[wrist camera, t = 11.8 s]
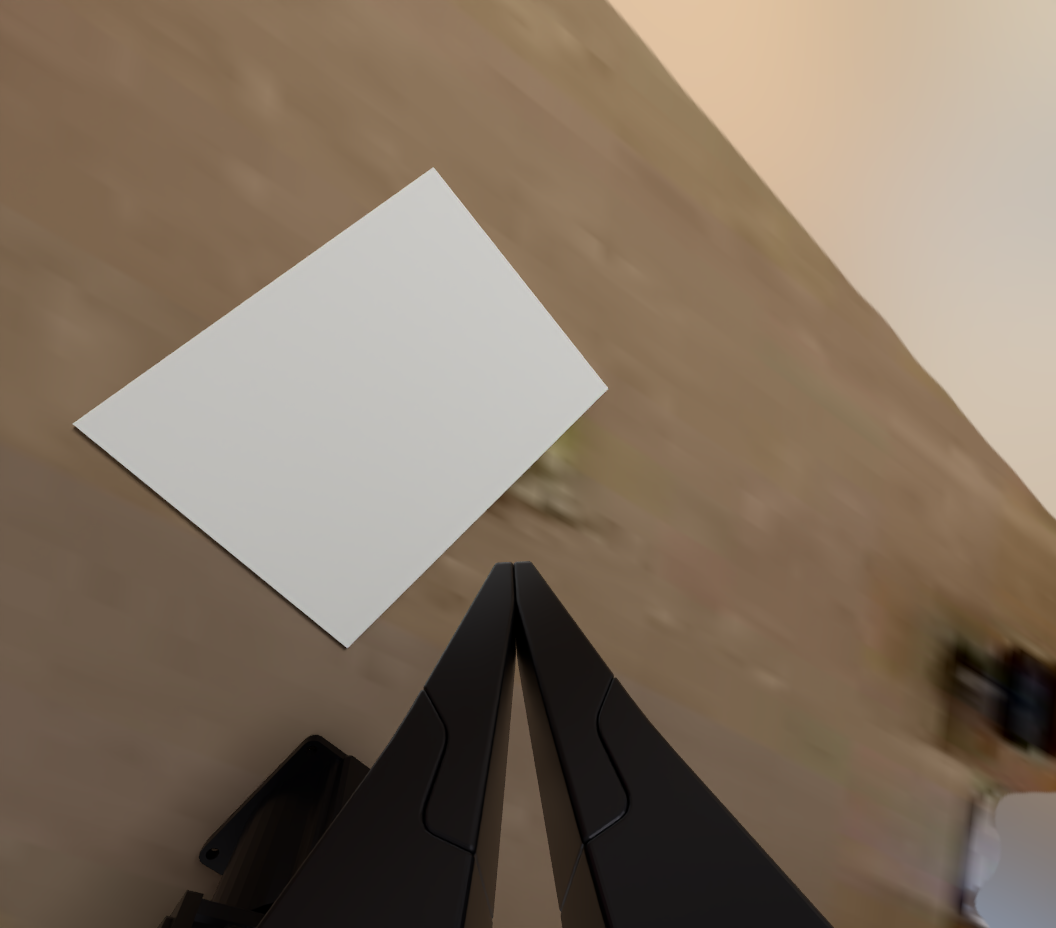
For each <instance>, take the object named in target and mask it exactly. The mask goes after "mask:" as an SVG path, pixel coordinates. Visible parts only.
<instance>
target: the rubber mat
mask: <svg viewBox="0 0 1056 928" xmlns="http://www.w3.org/2000/svg"><path fill="white" fill-rule="evenodd" d="M607 390H608V388H607V386H606V385H605V384H604V382H603V381H602V380H601V379H600V377H599V376H598V375H597V374H596V372H595V371H594V370H593V369H592V367H591V366H590V365H589V363H588V362H587V361H586V360H585V358H584V357H583V356H582V355H581V353H580V352H579V351H578V350H577V348H576V347H575V346H574V345H573V343H572V342H571V341H570V339H569V338H568V337H567V336H566V334H565V333H564V332H563V331H562V329H561V328H560V327H559V326H558V324H557V323H556V322H555V320H554V319H553V318H552V317H551V315H550V314H549V313H548V312H547V310H546V309H545V308H544V307H543V305H542V304H541V303H540V301H539V300H538V299H537V298H536V296H535V295H534V294H533V293H532V291H531V290H530V289H529V288H528V286H527V285H526V284H525V282H524V281H523V280H522V279H521V277H520V276H519V275H518V274H517V272H516V271H515V270H514V269H513V267H512V266H511V265H510V263H509V262H508V261H507V260H506V258H505V257H504V256H503V255H502V253H501V252H500V251H499V250H498V248H497V247H496V246H495V244H494V243H493V242H492V241H491V239H490V238H489V237H488V236H487V234H486V233H485V232H484V231H483V229H482V228H481V227H480V226H479V224H478V223H477V222H476V220H475V219H474V218H473V217H472V215H471V214H470V213H469V212H468V210H467V209H466V208H465V207H464V205H463V204H462V203H461V201H460V200H459V199H458V198H457V196H456V195H455V194H454V193H453V191H452V190H451V189H450V188H449V186H448V185H447V184H446V182H445V181H444V180H443V179H442V177H441V176H440V175H439V174H438V172H437V171H436V170H435V169H434V167H433V168H432V169H430V170H429V171H427V172H426V173H425V174H423V175H422V176H420V177H419V178H418V179H416V180H415V181H413V182H412V183H411V184H409V185H408V186H406V187H405V188H404V189H402V190H401V191H399V192H398V193H397V194H395V195H394V196H392V197H391V198H390V199H388V200H387V201H385V202H384V203H382V204H381V205H380V206H378V207H377V208H375V209H374V210H373V211H371V212H370V213H368V214H367V215H366V216H364V217H363V218H361V219H360V220H359V221H357V222H356V223H354V224H353V225H352V226H350V227H349V228H347V229H346V230H345V231H343V232H342V233H340V234H339V235H337V236H336V237H335V238H333V239H332V240H330V241H329V242H328V243H326V244H325V245H323V246H322V247H321V248H319V249H318V250H316V251H315V252H314V253H312V254H311V255H309V256H308V257H307V258H305V259H304V260H302V261H301V262H299V263H298V264H297V265H295V266H294V267H292V268H291V269H290V270H288V271H287V272H285V273H284V274H283V275H281V276H280V277H278V278H277V279H276V280H274V281H273V282H271V283H270V284H269V285H267V286H266V287H264V288H263V289H262V290H260V291H259V292H257V293H256V294H254V295H253V296H252V297H250V298H249V299H247V300H246V301H245V302H243V303H242V304H240V305H239V306H238V307H236V308H235V309H233V310H232V311H231V312H229V313H228V314H226V315H225V316H224V317H222V318H221V319H219V320H218V321H217V322H215V323H214V324H212V325H211V326H209V327H208V328H207V329H205V330H204V331H202V332H201V333H200V334H198V335H197V336H195V337H194V338H193V339H191V340H190V341H188V342H187V343H186V344H184V345H183V346H181V347H180V348H179V349H177V350H176V351H174V352H173V353H172V354H170V355H169V356H167V357H166V358H164V359H163V360H162V361H160V362H159V363H157V364H156V365H155V366H153V367H152V368H150V369H149V370H148V371H146V372H145V373H143V374H142V375H141V376H139V377H138V378H136V379H135V380H134V381H132V382H131V383H129V384H128V385H126V386H125V387H124V388H122V389H121V390H119V391H118V392H117V393H115V394H114V395H112V396H111V397H110V398H108V399H107V400H105V401H104V402H103V403H101V404H100V405H98V406H97V407H96V408H94V409H93V410H91V411H90V412H89V413H87V414H86V415H84V416H83V417H81V418H80V419H79V420H77V421H76V422H74V423H73V425H74V426H76V427H77V428H78V429H79V430H81V431H82V432H83V433H84V434H85V435H87V436H88V437H89V438H90V439H92V440H93V441H94V442H95V443H97V444H98V445H99V446H100V447H101V448H103V449H104V450H105V451H106V452H108V453H109V454H110V455H111V456H112V457H114V458H115V459H116V460H117V461H119V462H120V463H121V464H122V465H123V466H125V467H126V468H127V469H128V470H130V471H131V472H132V473H133V474H134V475H136V476H137V477H138V478H139V479H141V480H142V481H143V482H144V483H145V484H147V485H148V486H149V487H150V488H152V489H153V490H154V491H155V492H157V493H158V494H159V495H160V496H161V497H163V498H164V499H165V500H166V501H168V502H169V503H170V504H171V505H172V506H174V507H175V508H176V509H177V510H179V511H180V512H181V513H182V514H183V515H185V516H186V517H187V518H188V519H190V520H191V521H192V522H193V523H194V524H196V525H197V526H198V527H199V528H201V529H202V530H203V531H204V532H206V533H207V534H208V535H209V536H210V537H212V538H213V539H214V540H215V541H217V542H218V543H219V544H220V545H221V546H223V547H224V548H225V549H226V550H228V551H229V552H230V553H231V554H232V555H234V556H235V557H236V558H237V559H239V560H240V561H241V562H242V563H243V564H245V565H246V566H247V567H248V568H250V569H251V570H252V571H253V572H255V573H256V574H257V575H258V576H259V577H261V578H262V579H263V580H264V581H266V582H267V583H268V584H269V585H270V586H272V587H273V588H274V589H275V590H277V591H278V592H279V593H280V594H281V595H283V596H284V597H285V598H286V599H288V600H289V601H290V602H291V603H292V604H294V605H295V606H296V607H297V608H299V609H300V610H301V611H302V612H303V613H305V614H306V615H307V616H308V617H310V618H311V619H312V620H313V621H315V622H316V623H317V624H318V625H319V626H321V627H322V628H323V629H324V630H326V631H327V632H328V633H329V634H330V635H332V636H333V637H334V638H335V639H337V640H338V641H339V642H340V643H341V644H343V645H344V646H345V647H346V648H348V647H349V646H350V645H351V644H352V643H353V642H354V641H355V640H356V639H357V638H358V637H359V636H360V635H361V634H362V633H363V632H364V631H365V630H366V629H367V628H368V627H369V626H370V625H371V624H372V623H373V622H374V621H375V620H376V619H377V618H378V617H379V616H380V615H381V614H382V613H383V612H384V611H385V610H386V609H387V608H388V607H389V606H390V605H391V604H392V603H393V602H394V601H395V600H396V599H397V598H398V597H399V596H400V595H401V594H402V593H403V592H404V591H405V590H407V589H408V588H409V587H410V586H411V585H412V584H413V583H414V582H415V581H416V580H417V579H418V578H419V577H420V576H421V575H422V574H423V573H424V572H425V571H426V570H427V569H428V568H429V567H430V566H431V565H432V564H433V563H434V562H435V561H436V560H437V559H438V558H439V557H440V556H441V555H442V554H443V553H444V552H445V551H446V550H447V549H448V548H449V547H450V546H451V545H452V544H453V543H454V542H455V541H456V540H457V539H458V538H459V537H460V536H461V535H462V534H463V533H464V532H465V531H466V530H467V529H468V528H469V527H470V526H471V525H472V524H473V523H474V522H475V521H476V520H477V519H478V518H479V517H480V516H481V515H482V514H483V513H484V512H485V511H486V510H487V509H488V508H489V507H490V506H491V505H492V504H493V503H494V502H495V501H496V500H497V499H498V498H499V497H500V496H501V495H502V494H503V493H504V492H505V491H506V490H507V489H508V488H509V487H510V486H511V485H512V484H513V483H514V482H515V481H516V480H517V479H518V478H519V477H520V476H521V475H522V474H523V473H524V472H525V471H526V470H527V469H528V468H529V467H530V466H531V465H532V464H533V463H534V462H535V461H536V460H537V459H538V458H539V457H540V456H541V455H542V454H543V453H544V452H545V451H546V450H547V449H548V448H549V447H550V446H551V445H552V444H553V443H554V442H555V441H556V440H557V439H558V438H559V437H560V436H561V435H562V434H563V433H564V432H565V431H566V430H567V429H568V428H569V427H570V426H571V425H572V424H573V423H574V422H575V421H576V420H577V419H578V418H579V417H580V416H581V415H582V414H583V413H584V412H585V411H586V410H587V409H588V408H589V407H590V406H591V405H592V404H593V403H594V402H595V401H596V400H597V399H599V398H600V397H601V396H602V395H603V394H604V393H605V392H606V391H607Z"/></svg>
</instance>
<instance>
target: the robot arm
mask: <svg viewBox="0 0 1056 928" xmlns="http://www.w3.org/2000/svg"><path fill="white" fill-rule="evenodd" d="M516 650H517V659H518V666H519V672H520V678H521V684H522V690H523V696H524V702H525V708H526V714H527V719H528V725H529V731H530V737H531V743H532V749H533V755H534V761H535V767H536V773H537V779H538V785H539V791H540V797H541V803H542V808H543V814H544V820H545V826H546V832H547V838H548V844H549V850H550V856H551V862H552V868H553V874H554V880H555V886H556V892H557V897H558V903H559V909H560V911H561V921H562V927H563V928H834V927H833V926H832V925H831V924H830V923H829V922H828V921H827V919H826V918H825V917H824V916H823V915H822V914H821V913H820V912H819V911H818V909H817V908H816V907H815V906H814V905H813V904H812V903H811V902H810V901H809V899H808V898H807V897H806V896H805V895H804V894H803V893H802V892H801V891H800V889H799V888H798V887H797V886H796V885H795V884H794V883H793V882H792V881H791V879H790V878H789V877H788V876H787V875H786V874H785V873H784V872H783V870H782V869H781V868H780V867H779V866H778V865H777V864H776V863H775V862H774V860H773V859H772V858H771V857H770V856H769V855H768V854H767V853H766V852H765V850H764V849H763V848H762V847H761V846H760V845H759V844H758V843H757V842H756V840H755V839H754V838H753V837H752V836H751V835H750V834H749V833H748V832H747V830H746V829H745V828H744V827H743V826H742V825H741V824H740V823H739V822H738V820H737V819H736V818H735V817H734V816H733V815H732V814H731V813H730V812H729V810H728V809H727V808H726V807H725V806H724V805H723V804H722V803H721V802H720V800H719V799H718V798H717V797H716V796H715V795H714V794H713V793H712V791H711V790H710V789H709V788H708V787H707V786H706V785H705V784H704V783H703V781H702V780H701V779H700V778H699V777H698V776H697V775H696V774H695V773H694V771H693V770H692V769H691V768H690V767H689V766H688V765H687V764H686V763H685V761H684V760H683V759H682V758H681V757H680V756H679V755H678V754H677V753H676V751H675V750H674V749H673V748H672V747H671V746H670V744H669V743H668V742H667V741H666V740H665V739H664V738H663V736H662V735H661V734H660V733H659V732H658V731H657V729H656V728H655V727H654V726H653V725H652V724H651V722H650V721H649V720H648V719H647V717H646V716H645V715H644V714H643V712H642V711H641V710H640V708H639V707H638V706H637V705H636V703H635V702H634V701H633V699H632V698H631V697H630V696H629V694H628V693H627V691H626V690H625V689H624V687H623V686H622V685H621V683H620V682H619V680H618V679H617V678H614V675H613V673H612V672H611V670H610V669H609V668H608V666H607V665H606V663H605V662H604V661H603V659H602V658H601V657H600V655H599V654H598V653H597V651H596V650H595V648H594V647H593V646H592V644H591V643H590V642H589V640H588V639H587V637H586V636H585V635H584V633H583V632H582V631H581V629H580V628H579V627H578V625H577V624H576V622H575V621H574V620H573V618H572V617H571V616H570V614H569V613H568V611H567V610H566V609H565V607H564V606H563V605H562V603H561V602H560V601H559V599H558V598H557V596H556V595H555V594H554V592H553V591H552V590H551V588H550V587H549V585H548V584H547V583H546V581H545V580H544V579H543V577H542V576H541V574H540V573H539V572H538V570H537V569H536V568H535V566H534V565H533V564H532V563H531V562H530V561H525V562H515V563H514V568H513V563H511V562H502V563H496V564H495V565H494V567H493V568H492V570H491V572H490V573H489V575H488V577H487V579H486V580H485V582H484V584H483V585H482V587H481V589H480V591H479V592H478V594H477V596H476V598H475V599H474V601H473V603H472V604H471V606H470V608H469V610H468V611H467V613H466V615H465V616H464V618H463V620H462V622H461V623H460V625H459V627H458V628H457V630H456V632H455V634H454V635H453V637H452V639H451V640H450V642H449V644H448V646H447V647H446V649H445V651H444V653H443V654H442V656H441V658H440V659H439V661H438V663H437V665H436V666H435V668H434V670H433V671H432V673H431V675H430V677H429V678H428V680H427V682H426V683H425V685H424V690H421V691H420V693H419V695H418V696H417V698H416V700H415V701H414V703H413V705H412V707H411V708H410V710H409V712H408V713H407V715H406V716H405V718H404V720H403V721H402V723H401V724H400V726H399V728H398V729H397V731H396V733H395V734H394V736H393V737H392V739H391V740H390V742H389V743H388V745H387V746H386V748H385V749H384V751H383V752H382V753H381V755H380V756H379V758H378V759H377V761H376V762H375V764H374V765H373V766H372V768H371V769H370V768H368V767H367V766H366V765H364V764H363V763H361V762H360V761H359V760H357V759H356V758H355V757H353V756H347V755H346V754H345V753H343V752H342V751H341V750H339V749H338V748H337V747H335V746H334V745H333V744H331V743H330V742H328V741H327V740H326V739H324V738H323V737H322V736H319V735H312V736H309V737H308V738H307V739H305V740H304V741H303V742H302V743H301V744H300V745H299V746H298V747H297V748H296V750H295V751H294V752H293V753H292V754H291V755H290V756H289V757H288V758H287V759H286V760H285V761H284V762H283V763H282V764H281V765H280V766H279V767H278V768H277V769H276V770H275V771H274V772H273V773H272V774H271V775H270V776H269V777H268V778H267V779H266V780H265V781H264V782H263V783H262V784H261V785H260V787H259V788H258V789H257V790H256V791H255V792H254V793H253V794H252V795H251V796H250V797H249V798H248V799H247V800H246V801H245V802H244V803H243V804H242V805H241V806H240V807H239V808H238V809H237V810H236V811H235V812H234V813H233V814H232V815H231V816H230V817H229V818H228V819H227V820H226V821H225V822H224V823H223V825H222V826H221V827H220V828H219V829H218V830H217V831H216V832H215V833H214V834H213V835H212V836H211V837H210V838H209V839H208V840H207V841H206V843H205V844H204V846H203V848H202V850H201V852H200V855H199V859H200V862H201V863H202V864H204V865H206V866H207V867H209V868H211V869H212V870H214V871H216V872H217V873H219V874H221V875H223V876H222V878H221V881H220V883H219V885H218V887H217V890H216V892H215V894H214V896H213V899H212V901H209V900H205V899H202V897H203V894H201V893H197V892H193V891H189V890H187V891H186V893H185V894H184V896H183V897H182V899H181V900H180V902H179V903H178V905H177V906H176V908H175V909H174V911H173V912H172V914H171V915H170V916H166V917H165V918H164V920H163V921H162V922H161V924H160V925H159V927H158V928H492V924H493V922H492V918H493V913H494V901H495V890H496V878H497V867H498V856H499V844H500V833H501V821H502V810H503V799H504V787H505V776H506V765H507V753H508V742H509V730H510V719H511V708H512V696H513V685H514V673H515V661H516ZM310 746H316V747H317V749H315V750H309V749H308V747H310ZM212 848H216V849H218V850H217V851H212V850H211V849H212Z"/></svg>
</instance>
